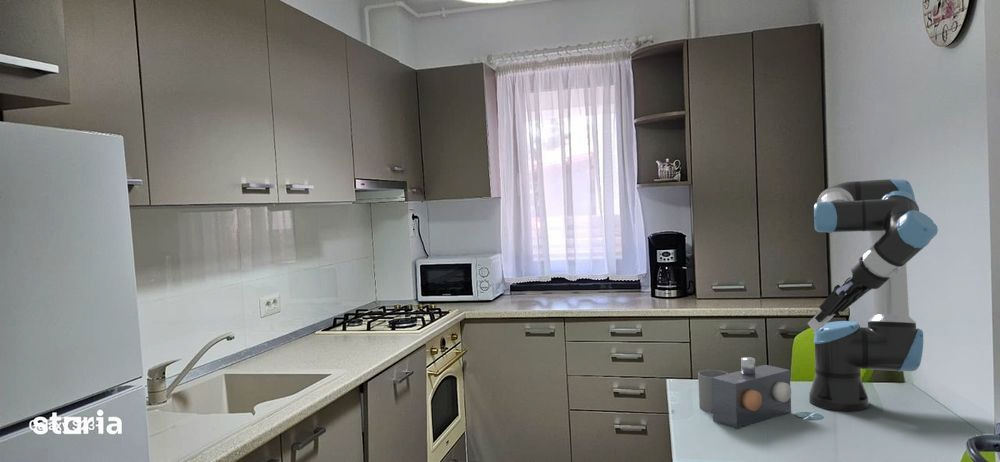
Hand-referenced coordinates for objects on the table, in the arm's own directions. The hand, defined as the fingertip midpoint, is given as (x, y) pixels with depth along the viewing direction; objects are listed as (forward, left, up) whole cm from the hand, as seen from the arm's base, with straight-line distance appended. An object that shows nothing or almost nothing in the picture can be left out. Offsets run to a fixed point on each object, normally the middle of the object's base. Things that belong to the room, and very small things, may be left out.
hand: (812, 327), depth 167 cm
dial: (+14, -10, -15) cm, 23 cm away
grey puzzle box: (+14, -9, -27) cm, 31 cm away
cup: (+23, -17, -27) cm, 39 cm away
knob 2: (+8, -12, -22) cm, 27 cm away
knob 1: (+18, -5, -22) cm, 29 cm away
